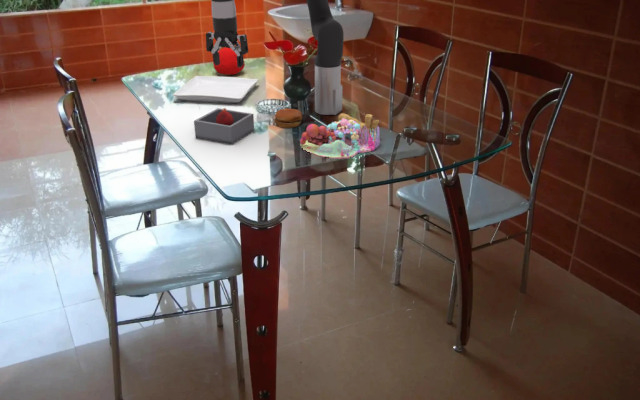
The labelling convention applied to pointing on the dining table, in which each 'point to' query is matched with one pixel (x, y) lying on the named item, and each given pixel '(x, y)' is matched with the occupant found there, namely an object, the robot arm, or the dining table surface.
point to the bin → (224, 127)
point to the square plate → (215, 89)
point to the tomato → (228, 62)
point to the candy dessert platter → (341, 137)
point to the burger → (288, 118)
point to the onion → (224, 118)
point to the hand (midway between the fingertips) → (228, 65)
